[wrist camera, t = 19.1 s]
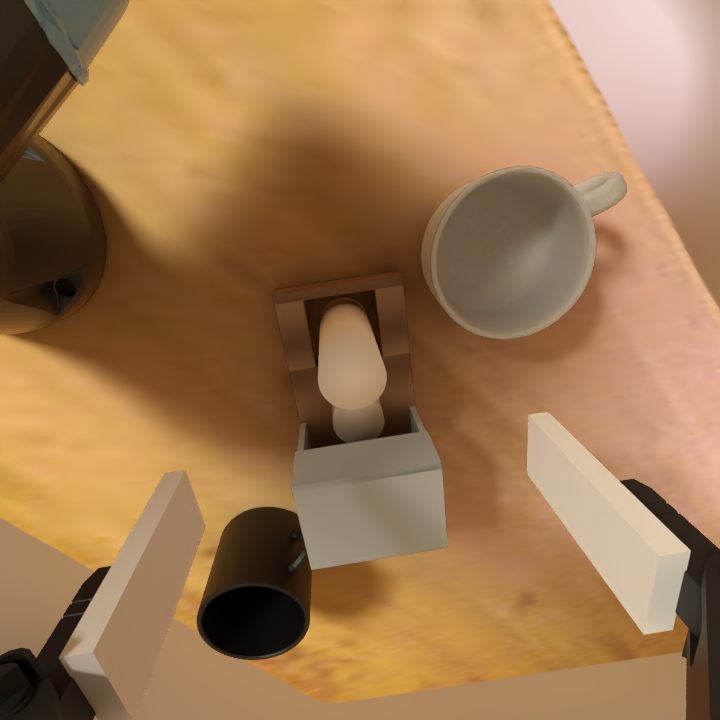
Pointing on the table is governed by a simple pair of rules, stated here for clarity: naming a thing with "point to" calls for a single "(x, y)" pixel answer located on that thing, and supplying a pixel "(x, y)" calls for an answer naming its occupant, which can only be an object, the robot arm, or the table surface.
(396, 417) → the wooden tray
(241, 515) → the mug
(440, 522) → the cover
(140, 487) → the table surface
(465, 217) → the teacup
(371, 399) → the pin
